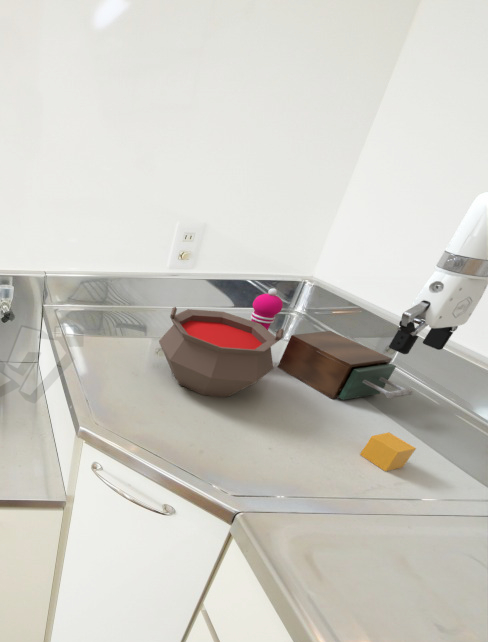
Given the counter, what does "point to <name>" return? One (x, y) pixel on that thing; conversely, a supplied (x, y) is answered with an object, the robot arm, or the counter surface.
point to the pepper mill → (266, 308)
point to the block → (387, 451)
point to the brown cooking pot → (217, 351)
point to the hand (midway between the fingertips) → (414, 348)
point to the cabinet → (326, 360)
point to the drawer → (371, 382)
